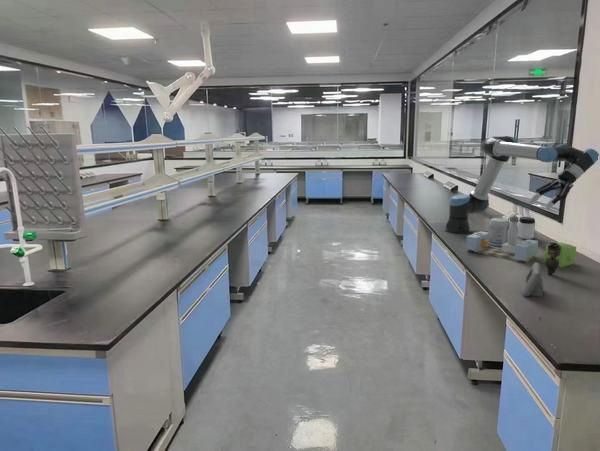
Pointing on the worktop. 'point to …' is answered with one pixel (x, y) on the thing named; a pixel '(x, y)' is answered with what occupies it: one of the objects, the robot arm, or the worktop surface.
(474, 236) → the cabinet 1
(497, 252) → the rail bench
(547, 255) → the lime green rounded box
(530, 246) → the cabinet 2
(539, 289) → the gray robed figurine
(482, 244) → the gauge plunger
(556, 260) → the dark brown figurine
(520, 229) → the jar
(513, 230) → the white stand
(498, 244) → the supplement tub
